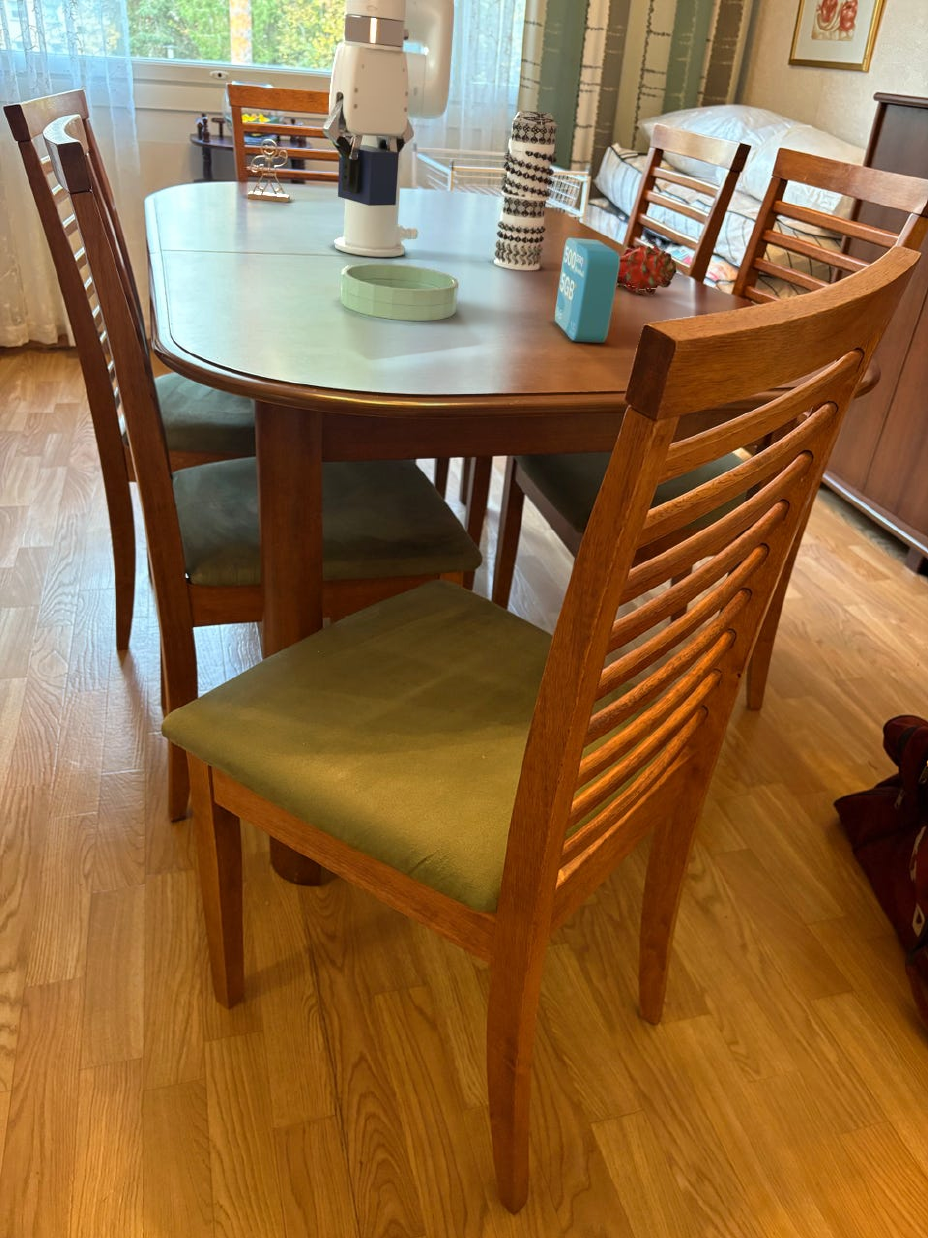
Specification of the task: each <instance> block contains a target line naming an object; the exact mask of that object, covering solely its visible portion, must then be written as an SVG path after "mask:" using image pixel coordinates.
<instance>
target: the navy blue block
mask: <svg viewBox="0 0 928 1238" xmlns="http://www.w3.org/2000/svg"><path fill="white" fill-rule="evenodd" d="M398 159H399V153H398V152H394V151H389V150H385V149H381V148H377V147H372V146H368V145H361V146H360V151H359V155H358V158H357V160H359V161H361V185H360V192H359V193H352V192H348V191H345V190H343V188H342V163H343V158H342V157H340V156H339V155H338V182H337V183H338V184H337V198H341V199H344V200H345V199H348V200H351V201H354V202H358V203H361V204H365V205H368V206H386V205H396V192H397V176H398Z"/></svg>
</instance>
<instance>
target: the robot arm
mask: <svg viewBox="0 0 928 1238" xmlns="http://www.w3.org/2000/svg"><path fill="white" fill-rule="evenodd" d="M344 1H345V2H344V25H343V26H344V30H343V44H340V43H339V44H338V45H337V49H336V52H335V56H334V62H333V67H332V73H331V80H330V81H331V82H330V92H329V102H328V103H329V104H328V105H329V106H328V117H327V119H326V120H325V122H324V124H323V126H322V127H321V129H322V134H324V135H325V137H327V139H329V140H330V141H331V142H332V145H333V146H334V148H335V149H336V150H337V152H338V157H339V156H340V157H342V158H343V163H342V188H343V190H345V191H348V192H352V193H359V192H360V185H361V161H359V160H357V158H358V155H359V151H360V146H361V145H368V146H372V147H377V148H381V149H385V150H389V151H394V152H398V153H399V159H398V176H397V192H396V205H386V206H368V205H365V204H361V203H358V202H354V201H351V200H348V199H344V220H343V222H344V223H343V237H339V238H337V239H335V240H334V247H335V249H336V250H338V251H341V252H344V253H346V254H351V255H357V256H364V257H373V258H395V257H400V256H403V255H404V254H405V250H406V247H405V245H403V244H402V242H404V241H405V240H416V239H417V238H418V236H419V232H418V229H417V228H415V227H406V228H404V226H403V225H401V224H399V213H400V212H399V211H400V196H401V180H402V165H403V148H404V147H405V145H406V144H407V143H408V142H409V141H410V140H411V139H413V137H414V135H415V131H414V129H413V127H412V125H411V122H410V120H409V118H413V119H422V120H423V119H424V120H436V119H439V118H441V117H442V116H443V115H444V113H445V112H446V109H447V106H448V102H449V95H450V85H451V84H450V83H451V70H452V69H451V68H452V53H453V42H454V41H453V40H454V25H455V1H454V0H344ZM404 43H408V44H416V45H419V46H421V47H422V48H423V50H424V52H425V53H420V52H412V51H404ZM341 132H342V133H341Z"/></svg>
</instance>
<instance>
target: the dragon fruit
mask: <svg viewBox="0 0 928 1238" xmlns="http://www.w3.org/2000/svg"><path fill="white" fill-rule="evenodd" d="M652 246H653V247H652V248H651V246H647V247H646V246H645V245H643V244H637V243H636V244H635V248H627V249H625V251H624V253H623V254H622V255H619V257H620V267H619V273H618V278H617V284H616V288H617V287H618V288H620V289H625V290H626V291H634V290H635V294H637V295H638V294H640V293H643V292H646V293H647V294H651V295H653V294H655V293H656V290H657V289H658V287H661V288H668V287H670V285H671V284H672V280H673V279H674V277H675V275H676V273H677V272H678V270H677V268H676V267H677V263H676V262H675V260H674V259H672V255H671V253H670V252H666V251H665V250H664V249H660V248H659V246H658V245H656V244H655V243H653V244H652ZM618 284H619V285H618ZM628 285H630V286H628ZM632 286H635V287H632ZM636 288H637V289H636ZM647 288H649V289H647ZM651 288H656V289H651ZM639 289H646V290H639Z"/></svg>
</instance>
